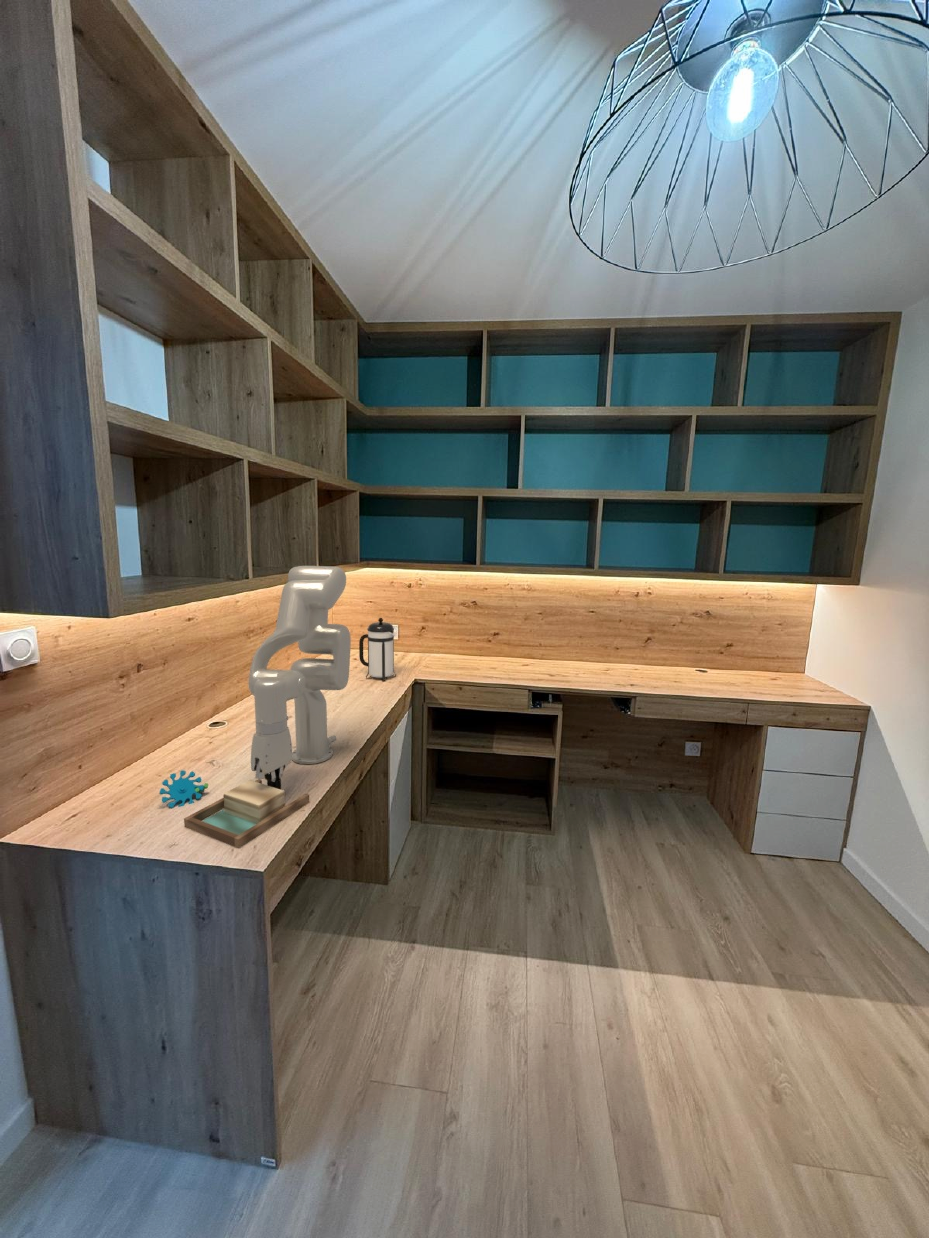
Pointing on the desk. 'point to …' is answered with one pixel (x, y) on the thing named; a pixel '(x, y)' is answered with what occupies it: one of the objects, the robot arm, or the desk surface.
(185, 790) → the blue spiky virus toy
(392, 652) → the coffee press
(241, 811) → the cream hardcover book
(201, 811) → the bay
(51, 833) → the desk surface
